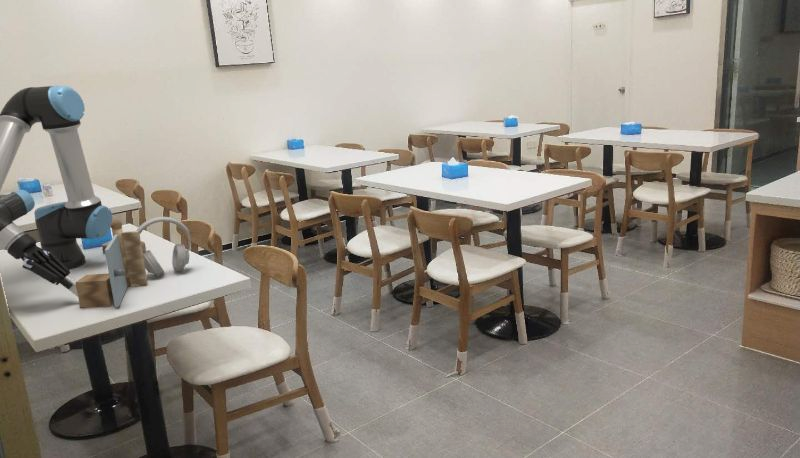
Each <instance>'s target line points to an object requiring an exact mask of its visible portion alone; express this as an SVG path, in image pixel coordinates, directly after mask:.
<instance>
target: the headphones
mask: <svg viewBox="0 0 800 458" xmlns="http://www.w3.org/2000/svg"><path fill="white" fill-rule="evenodd" d="M161 222H167V223H171V224H173V225H175V226H177V227H179V228H180V229H181V230H182V231H183V232H184V233H185V235H186V237H187V241H188V245H187V248H186V245H185V244H184V243H183V244H181V243H179V244H178V243H175V245H174V246H173V250H172V257H171V258H172V259H171V260H172V261H171V262H172V263H171V264H172V269H173V271H180V272H183V270H184V269H185V267H186V265H188V264H189V263H190V252H189V251H190V249H191V246H192V242H191V241H192V240H191V234H190V230H189V228H188V227H187V226H186V225H185V224H184V223H182V222H181V221H180V220H178V219H176V218H173V217H169V216H156V217H152V218H149V219H148V220H146V221H144V222H143V223H141V224H140V225H139V227H138V228H136V230H135V231H139V234H140V235H141V233H142V232H143V231H144V230H145V229H146V228H147V227H149V226H151V225H153V224H157V223H161ZM143 258H144V264H145V270H146V272H147V273H148V274H153V275H155V276H157V277H160V275H162V274H163V273H165V270H164V269H163V267H162V265H160V263H159V261H158V260H157V258H156V257H155V256H154V254H153V252H152V251H151V249H148V250H147V249H146V252H143Z"/></svg>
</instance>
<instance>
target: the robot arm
mask: <svg viewBox="0 0 800 458" xmlns="http://www.w3.org/2000/svg"><path fill="white" fill-rule="evenodd" d="M84 112H85V103H84V100H83V99H82V97H81V94H79V93H78V91H76V90H75V89H74V88H73V87H71V86H68V85H46V86H37V87H36V86H32V87H25V88H23V89H20V90H19V91H16V93H14V94H13V95H12V96H11V97H10V98H9V100H7V101H6V103H5V105H4V106H3V107H2V110H1V112H0V192H1V190H2V189H3V185H4V184H5V181H6V179H7V176H8V175H9V172H10V169H11V167H12V164H13V163H14V160H15V158H16V155H17V154H18V151H19V148H20V146H21V144H22V141H23V138H24V136H25V134H27V133H30V131H31V129H32V127H33V126H34V125H35V124H37V123H41V126H42V130H43V131H45V132H47V133H48V134H49V137H50V140H51V144H52V148H53V151H54V154H55V158H56V161H57V162H56V163H57V166H58V169H59V173H60V176H61V179H62V183H63V186H64V189H65V190H64V191H65V195H66V198H67V200H66V201H62V202H57V203H56V202H55V203H51V204H47V205H43V206H40V207H38V208H35V205H36V204H35V199H34V197H33V195H32V194H31V193H30V192H28V191H27V190H24V189H17V190H15V191H14V190H13V191H11V193H7V194H0V248H1V249H3V251H7V253H8V255H10V256H11V257H12V258H13V259H16V260H20V259H21V260H22V262H24V263H23V265H22V268H23V269H25V270H28V271H30V272H32V273H33V274H35V275H38V276H39V277H41V278H43V279H44V280H45V281H48V282H49V283H50V284H53V285H56V286H58V285H59V284H60V285H61V286H63V287H64V288H65V289H67V290H68V291H69V292H71V293H72V294H73V295H75V296H76V297H77V298H78V293H77V288H76V283H75V282H77V280H75V279H73V278H72V277H71V276H70V274H71V272H70V271H71V270H70V269H75V268H77V267H80V266H81V265H84V264H85V263H86V262H87V260H86V256H85V253H84V252H83V251H82V248H81V247H80V245H79V244H78V241H77V240H78V239H89V240H93V239H101V238H104V237H105V236H107V234H108V233H109V232H110V230H111V229H112V228H111V226H110V225H111V222H112V221H113V213H112V210H111V209H110V208H109V207H108V206H106V205H103V204H102V201H101V198H100V197H98V196H97V195H96V194H95V192H94V188H93V184H92V181H91V177H90V173H89V169H88V165H87V162H86V157H85V154H84V151H83V146H82V142H81V139H80V134H79V131H78V128H79V127H80V126H81V123H82V122H81V119H83V117H84V115H85V113H84ZM34 208H35V211H34V222H35V225H36V231H37V234H38V238H39V242H40V247H39V246H37V240H36V239H35V238H34V237H33V236H31V235H30V234H29V233H26V231H25V230H24V229H22V228H21V227H20V226H19V225H17V224H16V223H15V222H14V221H17V220H18V219H19V218H22V217H23V216H26V215H27V214H28V213H30V212H31V211H33V209H34Z"/></svg>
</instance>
